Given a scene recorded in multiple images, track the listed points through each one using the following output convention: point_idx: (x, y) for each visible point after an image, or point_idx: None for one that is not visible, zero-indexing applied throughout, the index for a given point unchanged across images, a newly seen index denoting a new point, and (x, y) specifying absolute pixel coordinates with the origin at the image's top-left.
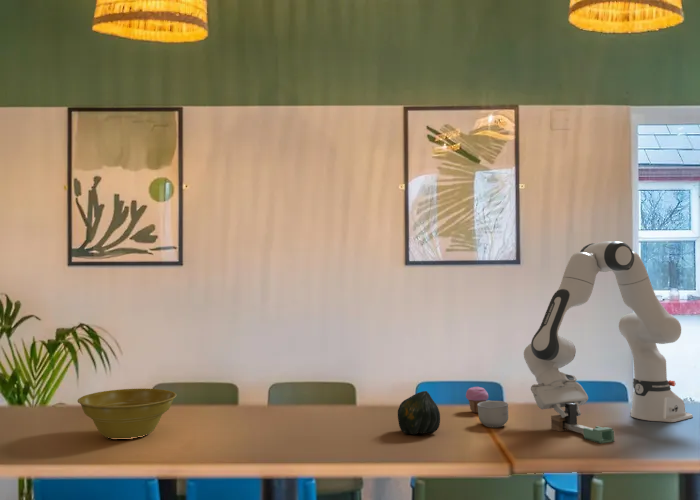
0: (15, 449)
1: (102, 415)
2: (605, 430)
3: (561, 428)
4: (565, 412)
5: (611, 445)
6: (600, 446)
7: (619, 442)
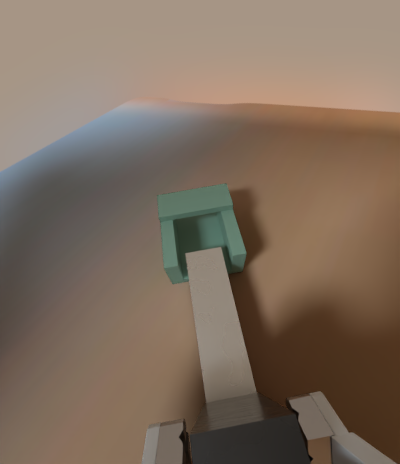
0: None
1: None
2: (192, 191)
3: None
4: (314, 416)
5: None
6: (240, 186)
7: None
